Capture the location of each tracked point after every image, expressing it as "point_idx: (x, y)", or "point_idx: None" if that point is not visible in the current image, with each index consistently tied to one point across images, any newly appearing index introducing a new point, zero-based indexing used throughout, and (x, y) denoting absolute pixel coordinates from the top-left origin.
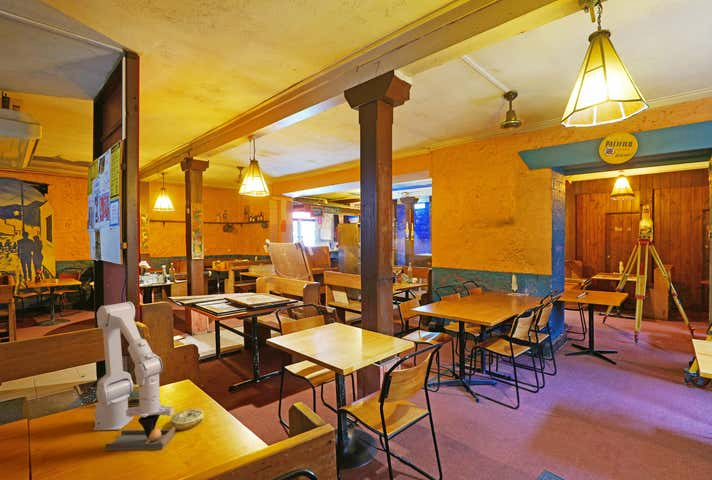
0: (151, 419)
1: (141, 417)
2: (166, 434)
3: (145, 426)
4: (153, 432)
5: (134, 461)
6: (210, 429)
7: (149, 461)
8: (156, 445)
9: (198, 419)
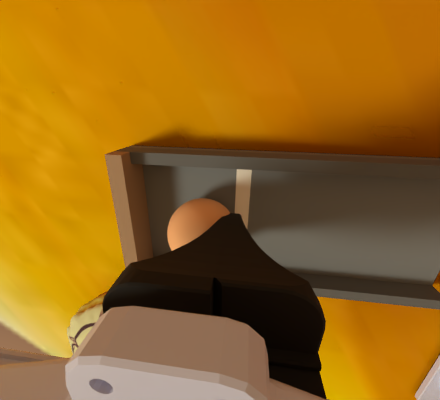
0: (112, 287)
1: (301, 355)
2: (128, 225)
3: (232, 249)
4: (190, 228)
5: (224, 25)
6: (25, 275)
7: (128, 24)
8: (152, 151)
9: (68, 328)
